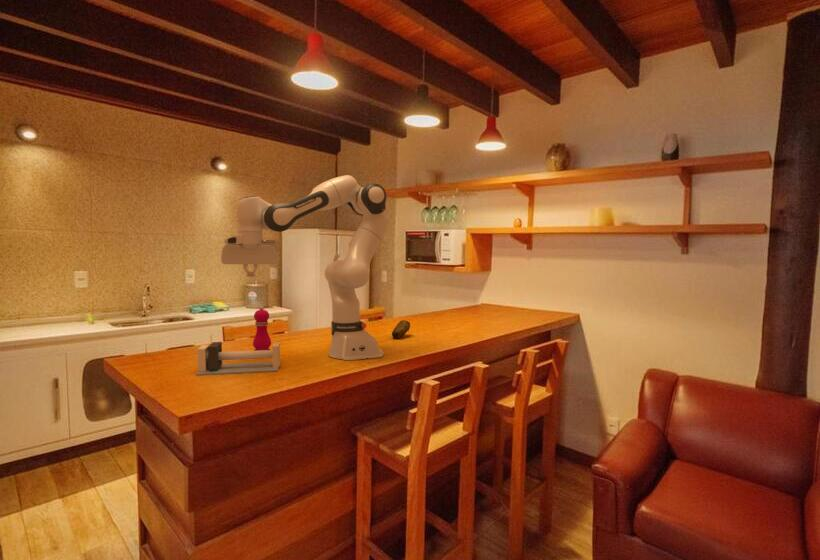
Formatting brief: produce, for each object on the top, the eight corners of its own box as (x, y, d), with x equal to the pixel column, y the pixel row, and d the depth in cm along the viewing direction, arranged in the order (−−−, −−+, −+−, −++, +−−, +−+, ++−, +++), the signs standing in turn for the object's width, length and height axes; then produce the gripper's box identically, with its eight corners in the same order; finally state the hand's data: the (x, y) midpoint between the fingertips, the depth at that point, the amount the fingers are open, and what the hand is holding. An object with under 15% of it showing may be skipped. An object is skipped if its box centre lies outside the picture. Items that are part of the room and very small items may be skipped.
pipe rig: (280, 362, 168) (280, 340, 167) (277, 371, 156) (277, 347, 155) (204, 366, 162) (204, 343, 161) (196, 375, 150) (195, 350, 150)
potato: (385, 337, 216) (385, 321, 216) (403, 334, 226) (403, 318, 225) (396, 340, 211) (396, 323, 210) (415, 336, 220) (415, 320, 219)
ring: (222, 363, 161) (221, 341, 161) (217, 369, 154) (216, 346, 153) (213, 364, 161) (212, 342, 160) (208, 370, 153) (207, 347, 152)
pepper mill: (265, 356, 177) (264, 307, 176) (249, 355, 179) (248, 306, 177) (274, 352, 184) (273, 305, 183) (258, 351, 186) (258, 304, 184)
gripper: (279, 240, 169) (280, 275, 170) (223, 239, 165) (224, 276, 166) (278, 239, 163) (278, 276, 164) (219, 239, 159) (220, 277, 160)
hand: (250, 276), depth 165 cm, fingers closed
